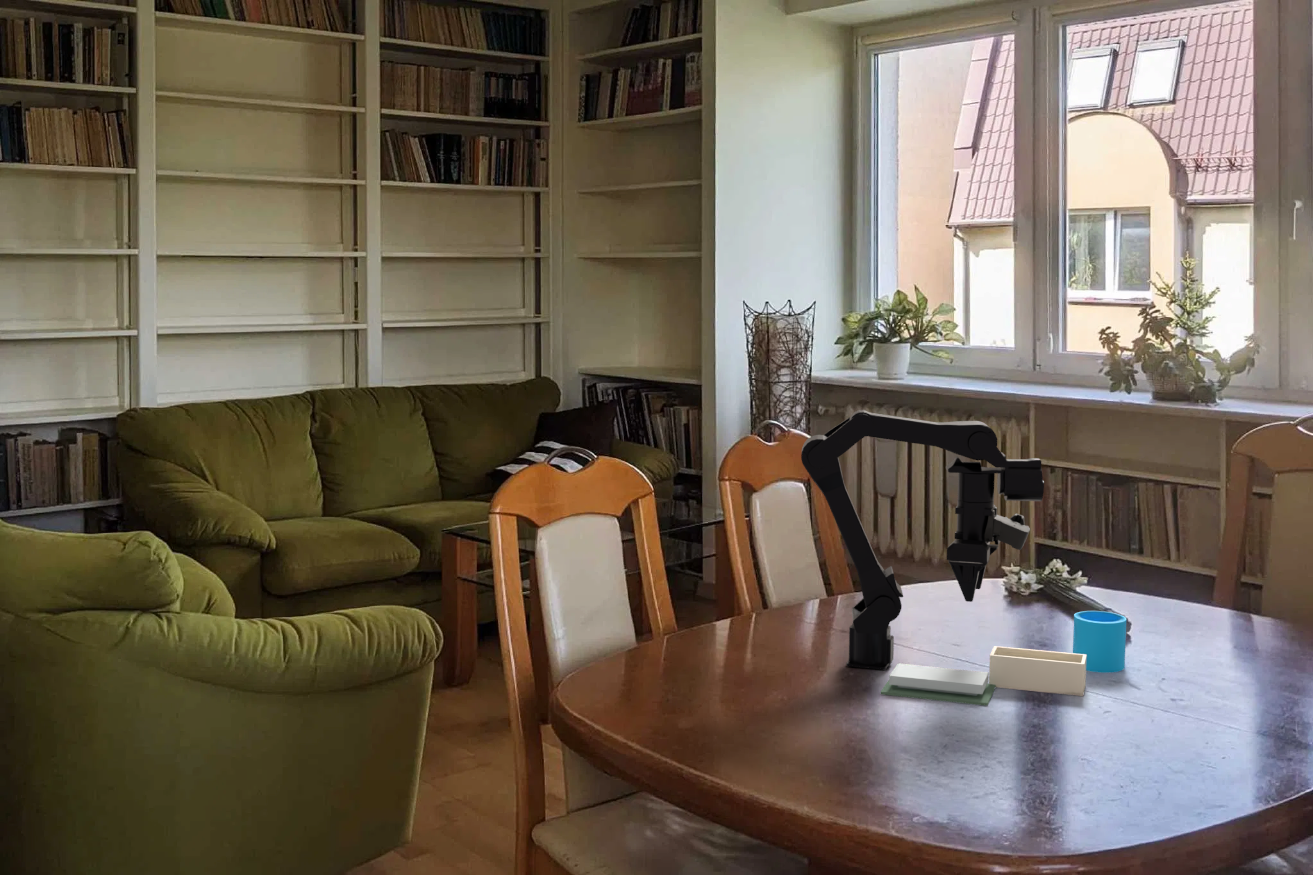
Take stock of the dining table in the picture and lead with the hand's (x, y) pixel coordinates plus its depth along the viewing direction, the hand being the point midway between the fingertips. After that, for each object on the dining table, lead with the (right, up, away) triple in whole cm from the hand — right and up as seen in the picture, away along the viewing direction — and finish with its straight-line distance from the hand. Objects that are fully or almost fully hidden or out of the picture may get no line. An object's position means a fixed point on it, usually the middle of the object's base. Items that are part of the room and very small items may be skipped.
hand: (973, 594), depth 218 cm
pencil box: (+8, -13, -9) cm, 18 cm away
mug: (+22, -12, +4) cm, 26 cm away
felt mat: (-8, -13, -11) cm, 19 cm away
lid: (-8, -12, -11) cm, 18 cm away
